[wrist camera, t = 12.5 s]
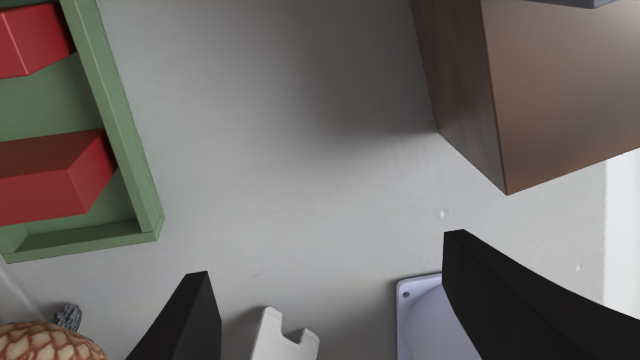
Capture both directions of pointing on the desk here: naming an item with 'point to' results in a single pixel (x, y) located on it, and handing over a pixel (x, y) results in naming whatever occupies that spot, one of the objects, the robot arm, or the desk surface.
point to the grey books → (576, 3)
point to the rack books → (33, 38)
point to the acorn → (48, 339)
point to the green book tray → (71, 116)
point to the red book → (53, 175)
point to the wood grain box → (532, 84)
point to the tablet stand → (281, 341)
